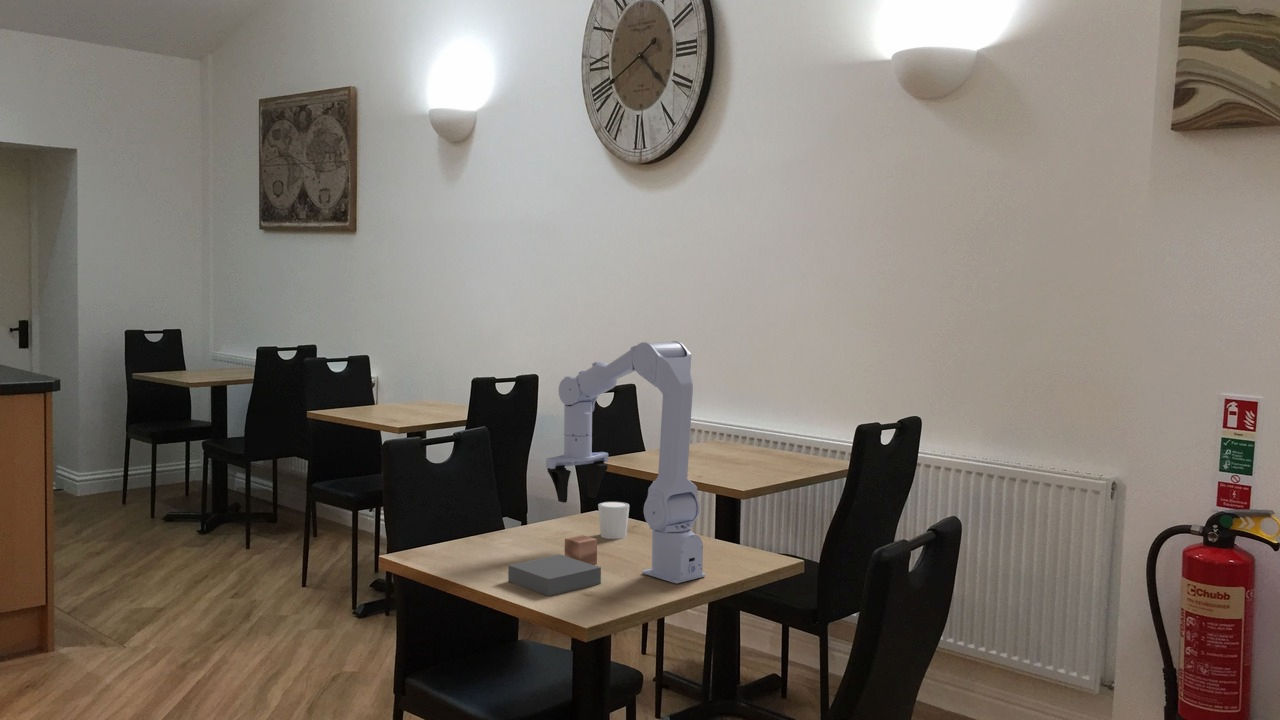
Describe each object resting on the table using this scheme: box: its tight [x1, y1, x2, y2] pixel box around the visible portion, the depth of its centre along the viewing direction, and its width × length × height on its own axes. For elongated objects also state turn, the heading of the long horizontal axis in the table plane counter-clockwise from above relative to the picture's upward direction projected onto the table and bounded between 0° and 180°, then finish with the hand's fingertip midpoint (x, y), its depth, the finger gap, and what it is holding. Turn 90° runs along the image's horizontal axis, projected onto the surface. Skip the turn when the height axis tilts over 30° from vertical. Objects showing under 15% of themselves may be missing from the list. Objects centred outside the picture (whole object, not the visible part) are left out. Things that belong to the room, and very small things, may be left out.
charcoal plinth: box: [507, 554, 602, 597], centre depth 189 cm, size 12×12×3 cm
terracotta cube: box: [564, 534, 598, 566], centre depth 202 cm, size 4×4×5 cm
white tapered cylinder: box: [597, 501, 630, 540], centre depth 225 cm, size 7×7×7 cm
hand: (577, 499), depth 214 cm, fingers open, 7 cm apart
